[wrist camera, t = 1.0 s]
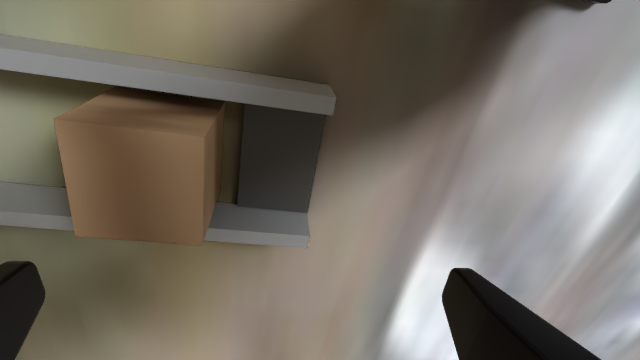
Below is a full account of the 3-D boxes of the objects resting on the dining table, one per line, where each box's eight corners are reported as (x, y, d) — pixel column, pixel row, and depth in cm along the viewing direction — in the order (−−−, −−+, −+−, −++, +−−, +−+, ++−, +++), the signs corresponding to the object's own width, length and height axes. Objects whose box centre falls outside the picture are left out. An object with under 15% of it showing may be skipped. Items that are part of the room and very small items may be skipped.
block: (224, 101, 17) (204, 137, 13) (220, 188, 19) (202, 245, 15) (116, 86, 16) (53, 119, 12) (125, 179, 18) (75, 236, 14)
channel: (329, 84, 17) (336, 97, 15) (304, 221, 21) (307, 248, 18) (-44, 27, 14) (-103, 32, 12) (4, 195, 18) (-35, 222, 16)
